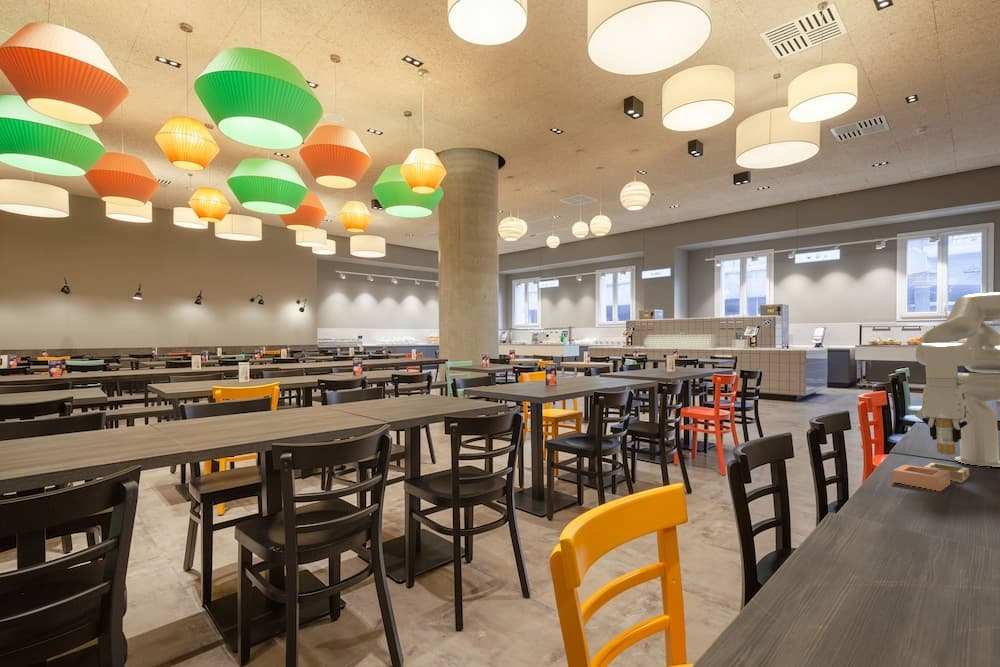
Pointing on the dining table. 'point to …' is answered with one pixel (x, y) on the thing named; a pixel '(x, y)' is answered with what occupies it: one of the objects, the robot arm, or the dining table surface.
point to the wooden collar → (952, 471)
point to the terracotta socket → (922, 477)
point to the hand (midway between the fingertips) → (945, 439)
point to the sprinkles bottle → (945, 435)
